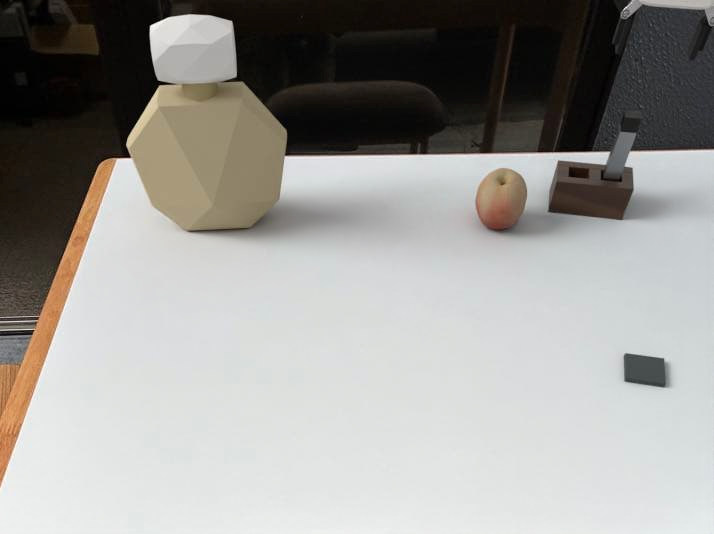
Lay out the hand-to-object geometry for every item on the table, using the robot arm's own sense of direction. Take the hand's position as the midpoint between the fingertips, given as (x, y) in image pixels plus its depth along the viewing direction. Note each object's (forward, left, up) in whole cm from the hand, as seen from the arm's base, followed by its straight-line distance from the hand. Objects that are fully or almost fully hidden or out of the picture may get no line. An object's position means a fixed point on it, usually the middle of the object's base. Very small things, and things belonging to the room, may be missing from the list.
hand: (653, 53), depth 90 cm
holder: (+2, 0, -22) cm, 22 cm away
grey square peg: (0, 0, -22) cm, 22 cm away
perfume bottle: (+61, +17, -22) cm, 67 cm away
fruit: (+16, +9, -22) cm, 29 cm away
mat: (-6, +40, -22) cm, 45 cm away
